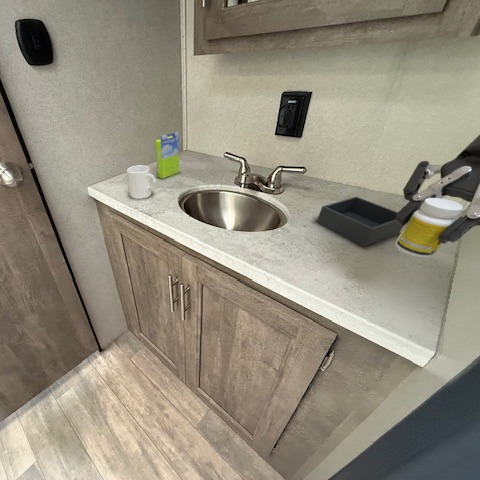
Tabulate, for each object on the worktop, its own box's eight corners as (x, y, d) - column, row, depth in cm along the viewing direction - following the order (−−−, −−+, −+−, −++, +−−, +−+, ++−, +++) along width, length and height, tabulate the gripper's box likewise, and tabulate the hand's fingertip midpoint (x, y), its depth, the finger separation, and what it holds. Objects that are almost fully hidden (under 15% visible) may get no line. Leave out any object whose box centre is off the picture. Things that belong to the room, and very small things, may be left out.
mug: (149, 203, 85) (147, 176, 80) (125, 195, 92) (122, 170, 86) (163, 195, 90) (162, 169, 85) (140, 188, 97) (137, 163, 91)
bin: (349, 211, 73) (356, 196, 70) (398, 233, 63) (409, 216, 60) (316, 222, 69) (322, 206, 66) (363, 247, 59) (372, 229, 56)
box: (173, 170, 112) (172, 130, 102) (180, 172, 109) (179, 131, 99) (156, 177, 106) (153, 135, 96) (162, 179, 103) (160, 136, 94)
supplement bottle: (434, 262, 37) (471, 214, 32) (394, 252, 40) (422, 206, 35) (431, 246, 40) (464, 200, 35) (394, 238, 43) (420, 194, 38)
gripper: (455, 112, 37) (366, 201, 40) (633, 126, 26) (488, 247, 29) (454, 143, 41) (374, 221, 45) (605, 166, 30) (482, 267, 34)
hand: (419, 231), depth 37 cm, fingers closed on supplement bottle, 4 cm apart
